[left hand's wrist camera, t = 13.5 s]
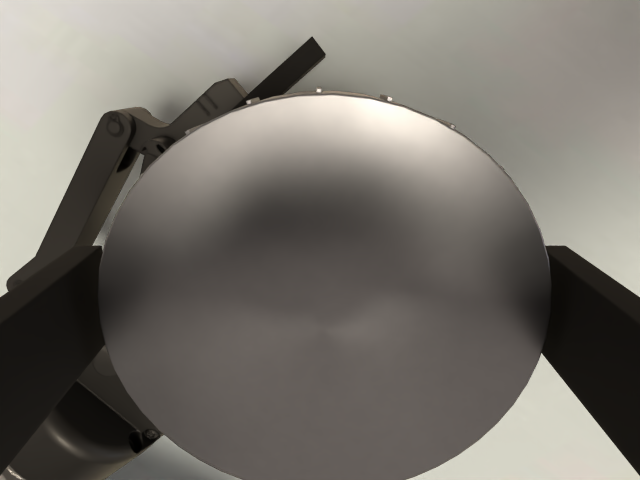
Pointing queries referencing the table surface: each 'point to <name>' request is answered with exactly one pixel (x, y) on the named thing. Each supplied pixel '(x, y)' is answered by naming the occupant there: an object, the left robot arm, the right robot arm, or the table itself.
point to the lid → (324, 290)
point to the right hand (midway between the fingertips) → (402, 157)
